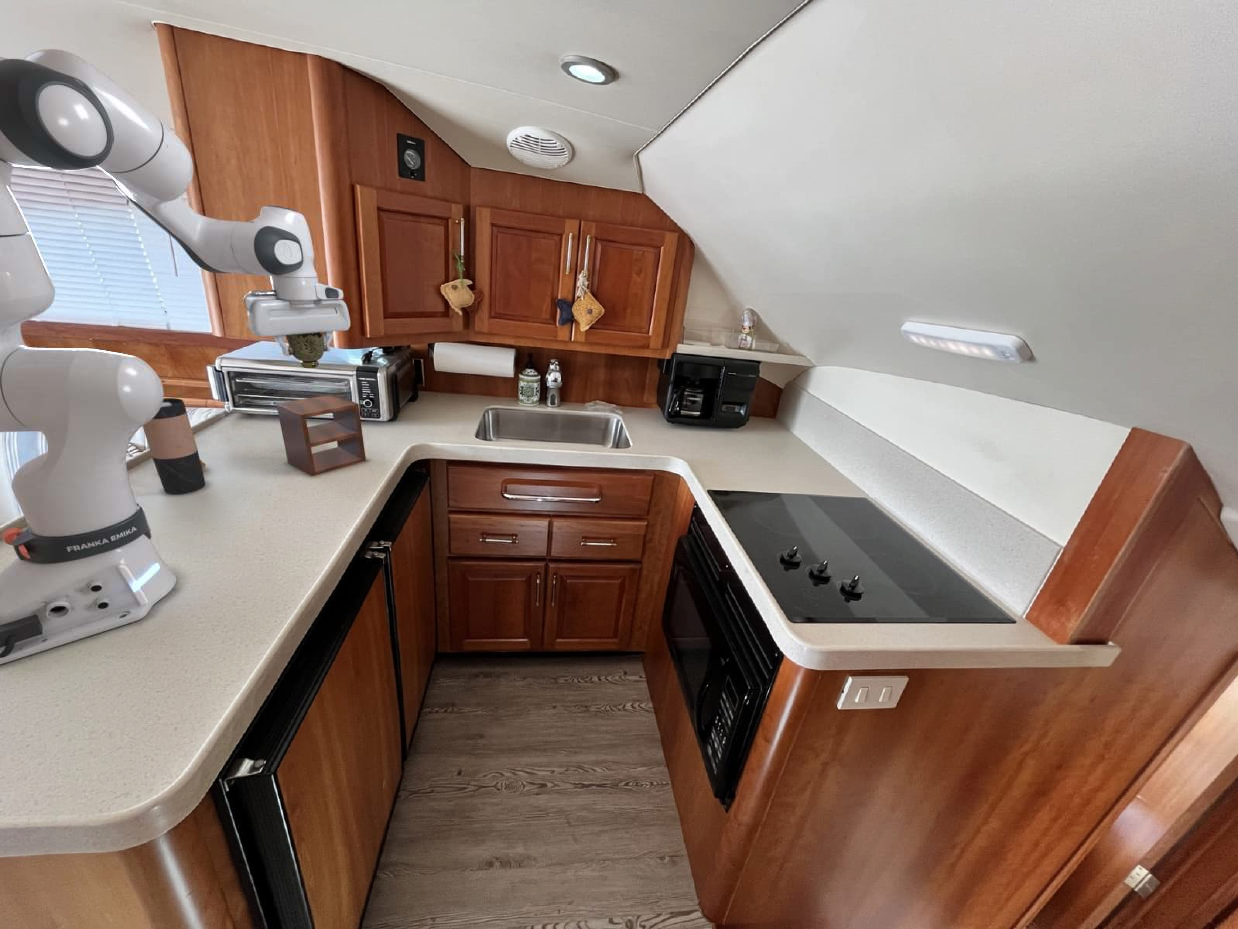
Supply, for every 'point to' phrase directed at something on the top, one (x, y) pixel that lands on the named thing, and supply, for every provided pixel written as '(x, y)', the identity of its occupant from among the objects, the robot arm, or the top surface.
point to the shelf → (322, 433)
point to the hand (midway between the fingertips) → (307, 353)
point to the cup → (307, 348)
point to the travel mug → (174, 448)
